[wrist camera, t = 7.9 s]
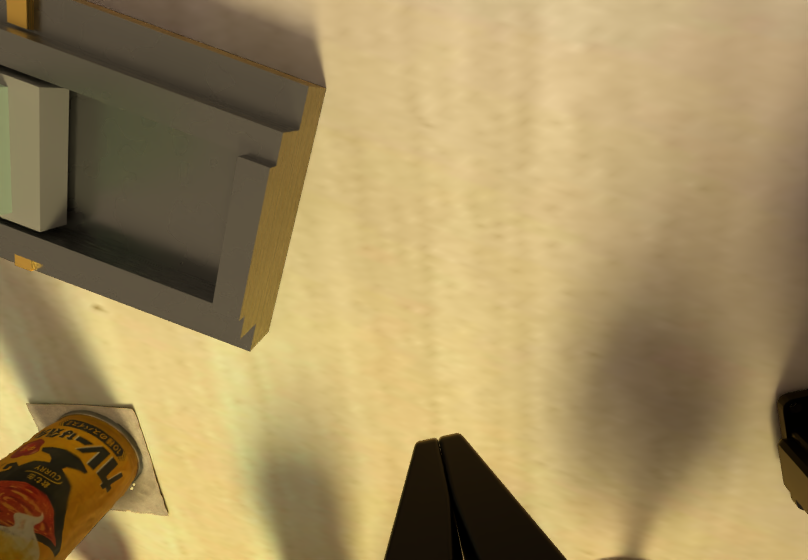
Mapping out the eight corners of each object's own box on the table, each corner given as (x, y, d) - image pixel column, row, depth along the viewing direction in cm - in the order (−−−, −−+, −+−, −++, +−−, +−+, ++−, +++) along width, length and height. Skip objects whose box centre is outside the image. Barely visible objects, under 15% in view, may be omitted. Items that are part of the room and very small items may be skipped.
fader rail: (326, 88, 18) (287, 84, 14) (268, 331, 23) (227, 375, 19) (-82, -61, 18) (-222, -102, 15) (-56, 209, 23) (-157, 229, 19)
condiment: (134, 406, 26) (-115, 625, 15) (170, 513, 29) (-16, 761, 18) (29, 400, 27) (-273, 600, 16) (74, 504, 31) (-156, 731, 19)
